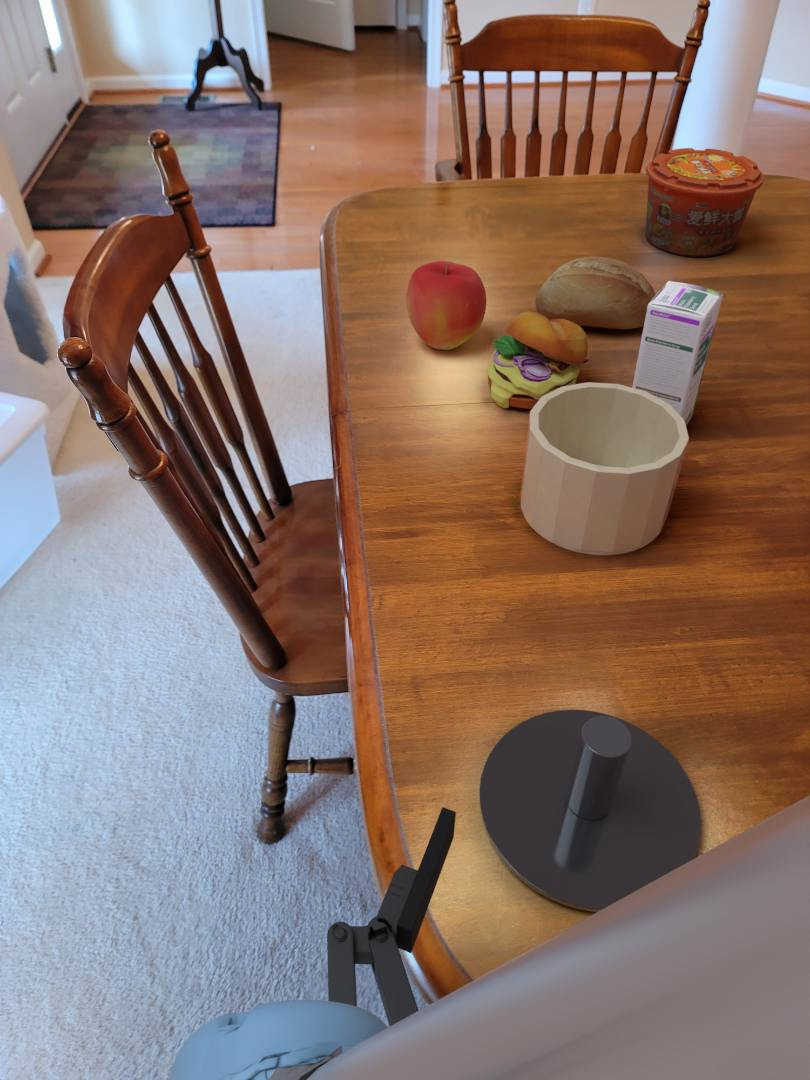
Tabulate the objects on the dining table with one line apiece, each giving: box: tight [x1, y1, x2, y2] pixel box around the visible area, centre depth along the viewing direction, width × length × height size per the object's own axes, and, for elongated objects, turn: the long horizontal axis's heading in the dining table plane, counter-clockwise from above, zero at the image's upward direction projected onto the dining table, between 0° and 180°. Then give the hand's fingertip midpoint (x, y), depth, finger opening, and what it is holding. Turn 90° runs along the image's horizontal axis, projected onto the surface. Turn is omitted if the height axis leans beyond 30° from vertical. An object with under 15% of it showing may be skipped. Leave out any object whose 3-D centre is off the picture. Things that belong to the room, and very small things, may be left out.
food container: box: [644, 147, 765, 258], centre depth 120 cm, size 16×16×11 cm
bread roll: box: [535, 256, 657, 330], centre depth 103 cm, size 10×15×8 cm, turn 80°
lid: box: [478, 709, 702, 913], centre depth 54 cm, size 15×15×9 cm
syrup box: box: [631, 280, 724, 426], centre depth 85 cm, size 6×6×14 cm
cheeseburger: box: [486, 310, 591, 410], centre depth 92 cm, size 10×11×10 cm
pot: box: [519, 381, 690, 556], centre depth 76 cm, size 14×14×10 cm
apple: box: [405, 260, 487, 351], centre depth 98 cm, size 10×10×10 cm
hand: (573, 866), depth 43 cm, fingers open, 13 cm apart
